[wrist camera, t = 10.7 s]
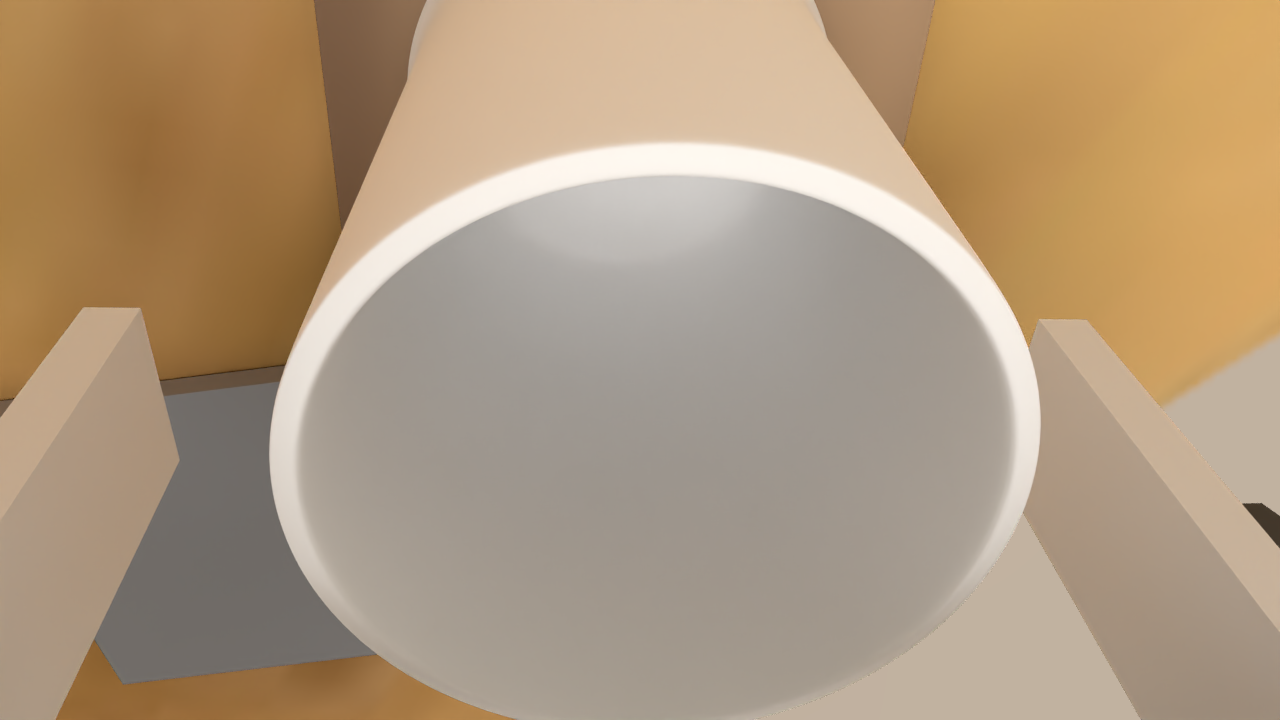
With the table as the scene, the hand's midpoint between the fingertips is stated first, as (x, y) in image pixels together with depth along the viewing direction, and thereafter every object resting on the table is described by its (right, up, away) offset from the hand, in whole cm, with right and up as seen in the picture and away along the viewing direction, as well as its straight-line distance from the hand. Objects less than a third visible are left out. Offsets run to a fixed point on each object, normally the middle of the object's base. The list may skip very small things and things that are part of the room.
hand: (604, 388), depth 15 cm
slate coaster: (-11, -4, +12) cm, 17 cm away
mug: (0, +4, +6) cm, 8 cm away
